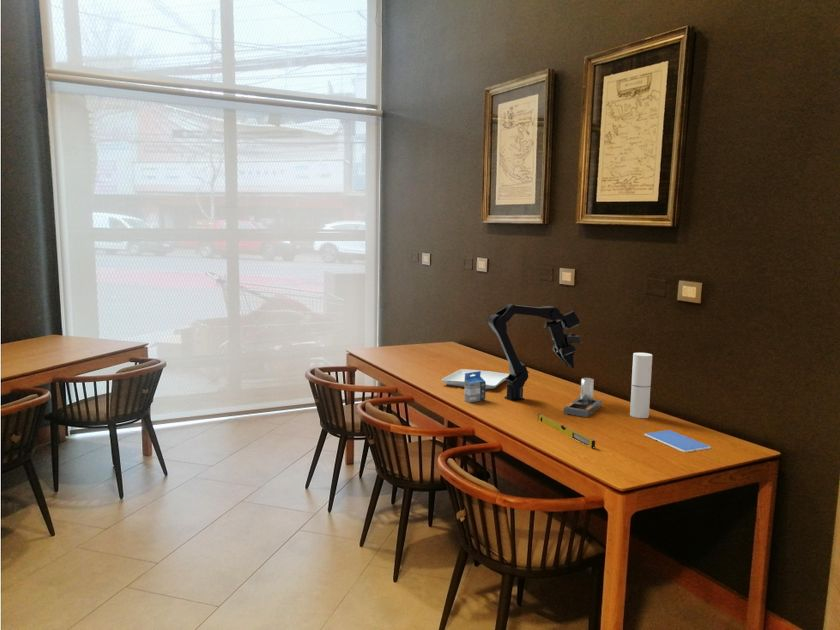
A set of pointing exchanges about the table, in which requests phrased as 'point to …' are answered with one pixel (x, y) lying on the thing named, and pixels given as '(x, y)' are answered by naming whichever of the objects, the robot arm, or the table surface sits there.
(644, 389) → the cylindrical container
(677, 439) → the tablet computer
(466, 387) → the label tape box
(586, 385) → the steel peg
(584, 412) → the grey flat frame
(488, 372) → the square plate
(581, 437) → the spirit level
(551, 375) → the table surface
